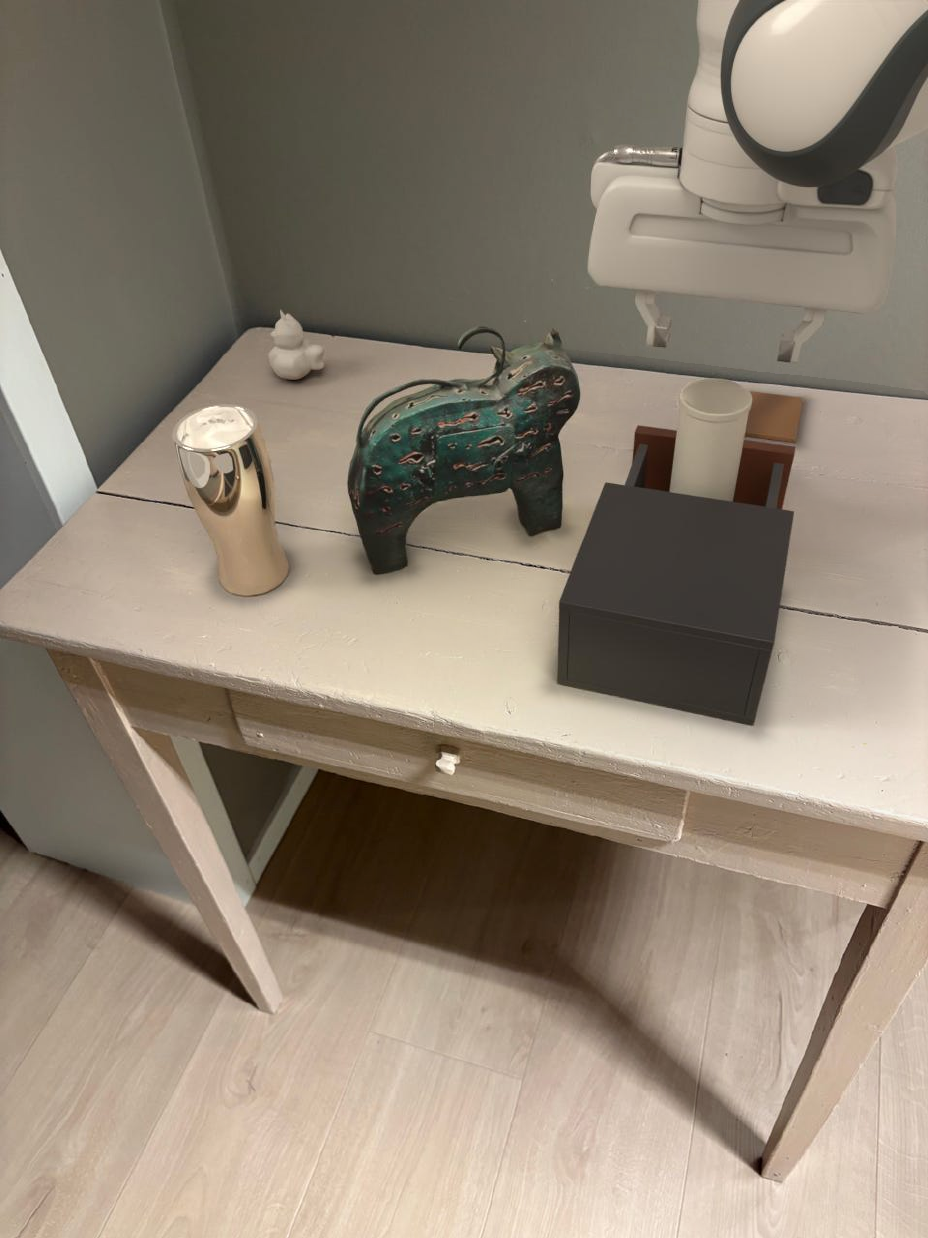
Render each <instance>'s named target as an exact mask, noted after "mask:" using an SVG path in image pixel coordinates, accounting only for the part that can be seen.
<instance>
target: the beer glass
mask: <svg viewBox="0 0 928 1238" xmlns="http://www.w3.org/2000/svg"><path fill="white" fill-rule="evenodd" d="M258 419H259V418H258V416H257V415H256V413H255V412H253V411H252V410H251V409H249V408H248V407H245V406H242V405H238V404H231V403H229V404H228V403H224V404H223V403H222V404H214V405H208V406H204V407H200V408H198V409H195V410H193V411H191V412H189V413H187V414H185V415H184V416H182V417H181V418H180V419H179V420H178V421H177V422H176V423H175V425H174V427H173V429H172V432H171V434H172V435H171V436H172V439H173V442H174V447H175V452H176V457H177V462H178V466H179V470H180V474H181V477H182V482H183V485H184V487H185V490H186V493H187V496H188V498H189V500H190V502H191V505H192V507H193V509H194V511H195V513H196V514H197V517H198V518H199V520H200V522H201V524H202V525H203V527H204V530H205V531H206V532H207V534H208V536H209V539H210V540H211V542H212V545H213V547H214V551H215V553H216V560H217V571H218V580H219V583H220V585H221V586H222V587H223V589H224V590H226V592H228V593H231V594H233V595H237V596H243V597H251V596H258V595H262V594H265V593H268V592H271V591H272V590H275V589H276V588H278V587H279V586H280V585H281V584H282V583H283V582H284V581H285V580H286V578H287V576H288V574H289V569H290V567H289V566H290V563H289V562H288V558H287V556H286V553H285V552H284V550H283V548H282V546H281V544H280V541H279V538H278V535H277V528H276V499H275V495H276V494H275V483H274V475H273V469H272V464H271V460H270V459H271V458H270V455H269V452H268V449H267V445H266V442H265V439H264V436H263V433H262V429H261V427H260V424H259V420H258Z"/></svg>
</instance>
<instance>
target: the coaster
mask: <svg viewBox="0 0 928 1238" xmlns="http://www.w3.org/2000/svg"><path fill="white" fill-rule="evenodd" d="M748 391H749V392H750V393H751V395H752V405H751V409H750V411H749V414H748V420H747V425H746V431H745V436H744V437H749V438H750V437H751V438H756V439H757V438H758V439H764V440H771V441H779V442H787V443H794V444H795V443H797V438H798V431H799V425H800V419H801V414H802V408H803V406H802V405H803V401H804V397H800V396H792V395H785V394H784V395H783V394H777V393H770V392H769V393H768V392H760V391H753V390H748Z"/></svg>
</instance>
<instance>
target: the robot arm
mask: <svg viewBox="0 0 928 1238" xmlns="http://www.w3.org/2000/svg"><path fill="white" fill-rule="evenodd" d="M695 22H696V24H695V25H696V32H697V33H696V34H697V39H698V40H697V41H698V62H697V68H696V71H695V75H694V78H693V80H692V83H691V84H690V88H689V92H688V95H687V103H686V112H685V121H684V129H683V141H682V146H681V147H677V146H676V147H675V146H671V147H670V146H649V147H648V146H646V147H645V146H642V147H641V146H636V145H635V144H634V145H633V144H628V143H627V144H625V143H624V144H617V145H615V146H614V148H613V149H612V150H608V151H605V152H603V153H602V154H601V155H599V156H598V157H597V158H596V160H595V161H594V163H593V165H592V167H591V171H590V186H589V195H590V200H591V203H592V205H593V206H594V209H596V212H595V218H594V221H593V226H592V231H591V236H590V241H589V249H588V256H587V273H588V275H589V277H590V278H591V280H592V281H593V282H594V284H595V285H596V286H597V287H602V288H609V289H610V288H611V289H621V290H630V291H635V295H634V305H635V307H636V308H637V310H638V312H639V315H640V316H641V318H642V320H643V323H644V324H645V326H647V333H646V343H645V344H646V345H645V346H647V347H655V348H664V349H665V348H667V347H668V343H669V340H670V338H671V330H670V329H671V327H672V322H673V321H672V320H673V317H672V316H667V315H662V314H661V311H660V309H659V307H658V304H657V303H656V299H657V296H658V295H659V294H669V295H676V296H677V295H678V296H686V297H687V296H688V297H697V298H706V299H716V300H725V301H736V302H747V303H754V304H763V305H773V306H774V305H775V306H783V307H791V308H802V309H804V313H803V318H802V321H801V323H800V324H799V325H797V327H796V328H795V329H794V330H793V329H782V334H781V339H780V343H779V348H778V354H777V358H776V362H781V363H789V364H798V363H799V359H800V355H801V350H802V346H803V344H806V342H807V341H808V340H809V339H810V338H811V337H812V336H813V335H814V334H815V333H816V332H817V331H818V330H819V329H820V328H821V327H822V326H823V325H824V322H825V318H826V314H827V311H830V312H841V313H848V314H858V315H870V314H872V313H874V312H875V311H876V310H878V309H879V308H880V307H881V306H882V305H884V303H885V302H886V301H887V298H888V294H889V290H890V285H891V281H892V274H893V267H894V260H895V252H896V251H895V250H896V242H897V241H896V239H897V215H898V213H897V202H896V198H895V196H894V193H893V190H894V189H895V185H896V182H897V178H898V173H899V172H898V171H899V158H898V153H897V149H896V147H895V146H897V145H899V144H901V143H903V142H905V141H907V140H908V139H911V138H913V137H915V136H916V135H918V134H921V133H923V132H925V131H926V130H928V0H698V1H697V9H696V21H695ZM610 158H612V159H610Z"/></svg>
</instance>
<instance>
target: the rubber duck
mask: <svg viewBox="0 0 928 1238" xmlns="http://www.w3.org/2000/svg"><path fill="white" fill-rule="evenodd" d="M279 313H280V319H278V321H276V323H275V326H274V330H272V331H271V332H270V337H271V338H272V339H273V343H274V344H275V345H274V347H272V349H271V350H270V352H269V353H268V354H267V355H268V356H267V357H268V362H269V365H270V367H271V368H272V370H273V372H274V373H275V374H276V375H277V376H278V377H279V378H281V379H284V380H291V381H293V380H295V381H296V380H301V379H302V378H305V376H307V375H308V374H309V373H310V372H311V371H312V370H314V371H318V370H322V369H323V368H324V367H325V362H324V358H323V357H324V354H325V349H324V346H322V345H320V344H312V343H311V341H310V340H309V339H305V332H304V330H303V327H302V325H301V323H300V322H299V321H298V320H297V319H295V317H293V316H292V314H290V313H286V314H285V313H284V311H283V310H282V309H281V308H279Z"/></svg>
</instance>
